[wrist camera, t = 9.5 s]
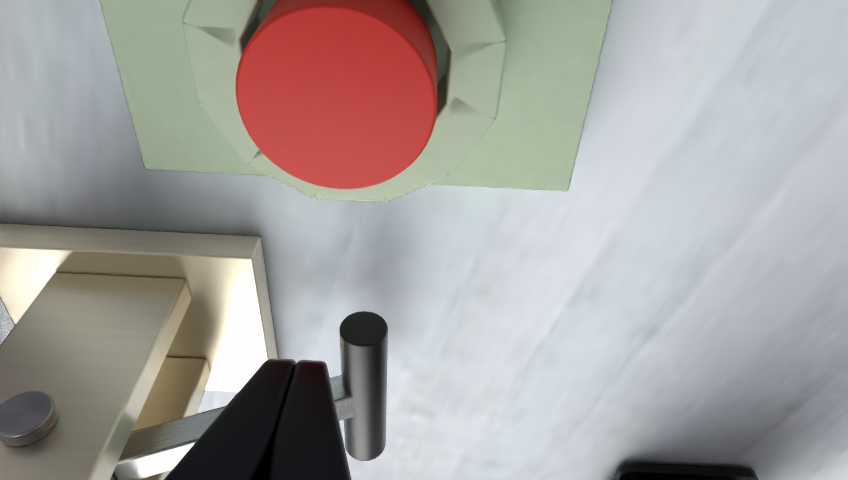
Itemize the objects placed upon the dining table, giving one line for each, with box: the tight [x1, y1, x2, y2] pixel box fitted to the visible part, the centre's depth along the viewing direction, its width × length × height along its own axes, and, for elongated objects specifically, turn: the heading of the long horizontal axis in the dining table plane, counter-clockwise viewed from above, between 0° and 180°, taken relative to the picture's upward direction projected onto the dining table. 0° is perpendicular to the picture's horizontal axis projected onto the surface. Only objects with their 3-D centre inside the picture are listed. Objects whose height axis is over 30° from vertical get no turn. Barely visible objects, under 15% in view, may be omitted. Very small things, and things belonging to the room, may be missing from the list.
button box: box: [99, 0, 613, 202], centre depth 15 cm, size 12×8×4 cm, turn 87°
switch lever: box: [110, 311, 388, 480], centre depth 19 cm, size 11×6×2 cm, turn 87°
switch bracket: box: [0, 223, 278, 480], centre depth 20 cm, size 9×7×9 cm
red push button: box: [235, 0, 437, 189], centre depth 13 cm, size 4×4×2 cm
